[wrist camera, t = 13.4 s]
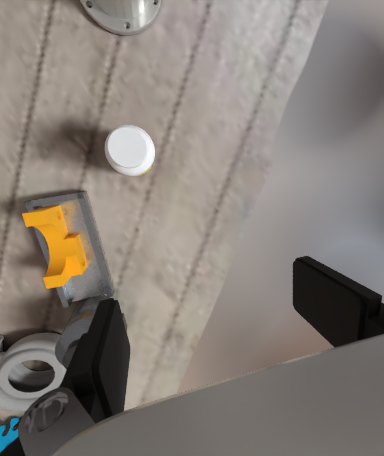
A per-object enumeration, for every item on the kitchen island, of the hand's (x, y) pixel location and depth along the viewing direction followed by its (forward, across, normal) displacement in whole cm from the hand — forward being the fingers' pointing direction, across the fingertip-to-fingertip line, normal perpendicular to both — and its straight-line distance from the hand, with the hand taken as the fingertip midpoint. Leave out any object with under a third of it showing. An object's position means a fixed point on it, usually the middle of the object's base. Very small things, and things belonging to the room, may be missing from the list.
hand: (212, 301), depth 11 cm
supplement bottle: (+32, +4, -10) cm, 34 cm away
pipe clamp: (+31, +19, +3) cm, 36 cm away
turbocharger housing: (+32, +31, +27) cm, 52 cm away
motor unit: (+32, +17, +9) cm, 37 cm away
